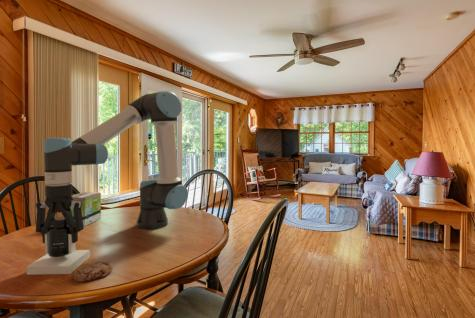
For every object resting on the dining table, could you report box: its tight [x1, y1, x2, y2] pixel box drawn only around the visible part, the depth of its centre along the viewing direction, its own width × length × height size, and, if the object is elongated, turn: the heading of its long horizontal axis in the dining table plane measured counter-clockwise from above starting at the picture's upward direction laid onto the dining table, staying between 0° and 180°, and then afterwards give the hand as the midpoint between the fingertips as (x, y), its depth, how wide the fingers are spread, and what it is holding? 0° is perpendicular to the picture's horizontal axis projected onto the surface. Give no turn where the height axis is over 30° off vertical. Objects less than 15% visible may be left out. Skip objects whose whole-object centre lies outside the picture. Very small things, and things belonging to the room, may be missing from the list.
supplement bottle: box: [48, 216, 71, 257], centre depth 90 cm, size 7×7×12 cm
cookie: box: [73, 261, 113, 283], centre depth 85 cm, size 10×11×3 cm
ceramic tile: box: [26, 249, 91, 276], centre depth 91 cm, size 13×13×2 cm
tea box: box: [66, 191, 102, 227], centre depth 139 cm, size 15×10×15 cm
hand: (60, 252), depth 91 cm, fingers closed on supplement bottle, 7 cm apart
